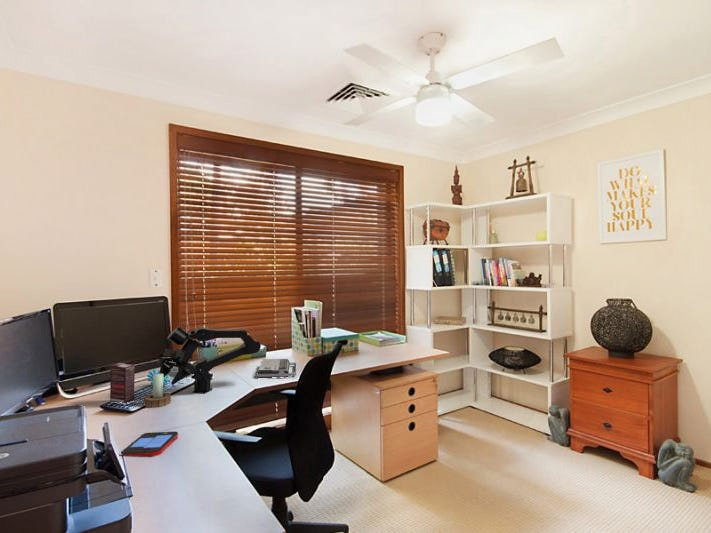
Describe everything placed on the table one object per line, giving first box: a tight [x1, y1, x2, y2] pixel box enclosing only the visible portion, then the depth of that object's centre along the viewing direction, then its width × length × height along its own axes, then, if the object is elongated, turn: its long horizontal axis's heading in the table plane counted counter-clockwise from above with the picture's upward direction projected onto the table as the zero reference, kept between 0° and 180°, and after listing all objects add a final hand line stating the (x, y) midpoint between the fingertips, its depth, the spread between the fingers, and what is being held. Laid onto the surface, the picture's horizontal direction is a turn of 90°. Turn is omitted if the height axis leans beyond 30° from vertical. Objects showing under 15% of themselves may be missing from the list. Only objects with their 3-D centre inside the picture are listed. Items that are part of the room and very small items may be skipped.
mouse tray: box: [166, 367, 194, 379], centre depth 209 cm, size 14×13×2 cm
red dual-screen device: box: [120, 431, 179, 457], centre depth 128 cm, size 14×13×2 cm
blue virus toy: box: [147, 368, 170, 386], centre depth 188 cm, size 11×6×10 cm
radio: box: [256, 358, 297, 379], centre depth 215 cm, size 24×5×20 cm
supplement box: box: [109, 362, 136, 403], centre depth 165 cm, size 9×5×16 cm, turn 71°
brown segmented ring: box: [143, 391, 172, 409], centre depth 165 cm, size 10×10×3 cm
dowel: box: [152, 372, 164, 399], centre depth 165 cm, size 4×4×12 cm
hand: (164, 382), depth 167 cm, fingers open, 9 cm apart
